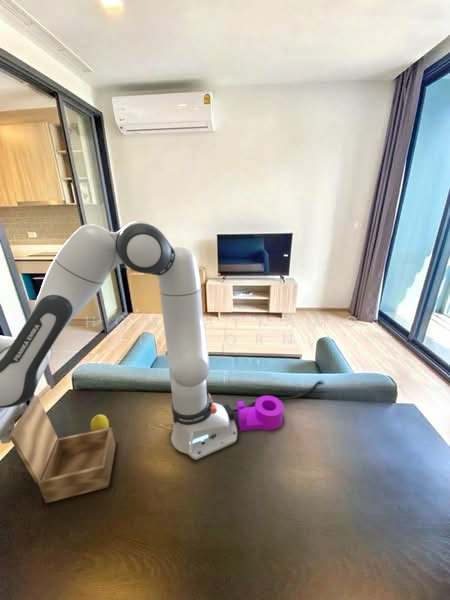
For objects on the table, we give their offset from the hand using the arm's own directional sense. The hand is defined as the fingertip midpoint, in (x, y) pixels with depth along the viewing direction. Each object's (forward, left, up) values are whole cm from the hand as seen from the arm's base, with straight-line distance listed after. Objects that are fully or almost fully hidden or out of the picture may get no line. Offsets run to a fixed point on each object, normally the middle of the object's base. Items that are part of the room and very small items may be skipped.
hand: (9, 438), depth 65 cm
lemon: (-17, -13, -18) cm, 28 cm away
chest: (-14, 0, -18) cm, 23 cm away
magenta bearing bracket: (-72, -4, -18) cm, 75 cm away
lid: (-6, 0, -1) cm, 6 cm away
